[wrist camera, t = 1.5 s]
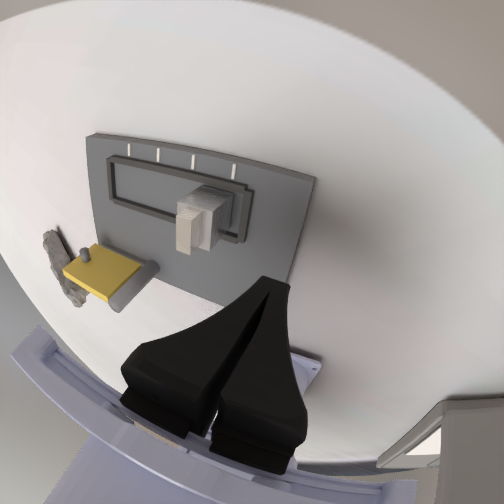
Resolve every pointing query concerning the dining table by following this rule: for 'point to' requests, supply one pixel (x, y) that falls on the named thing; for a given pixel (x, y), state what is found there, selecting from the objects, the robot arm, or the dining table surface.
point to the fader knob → (202, 219)
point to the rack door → (101, 271)
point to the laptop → (457, 450)
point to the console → (165, 210)
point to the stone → (58, 262)
